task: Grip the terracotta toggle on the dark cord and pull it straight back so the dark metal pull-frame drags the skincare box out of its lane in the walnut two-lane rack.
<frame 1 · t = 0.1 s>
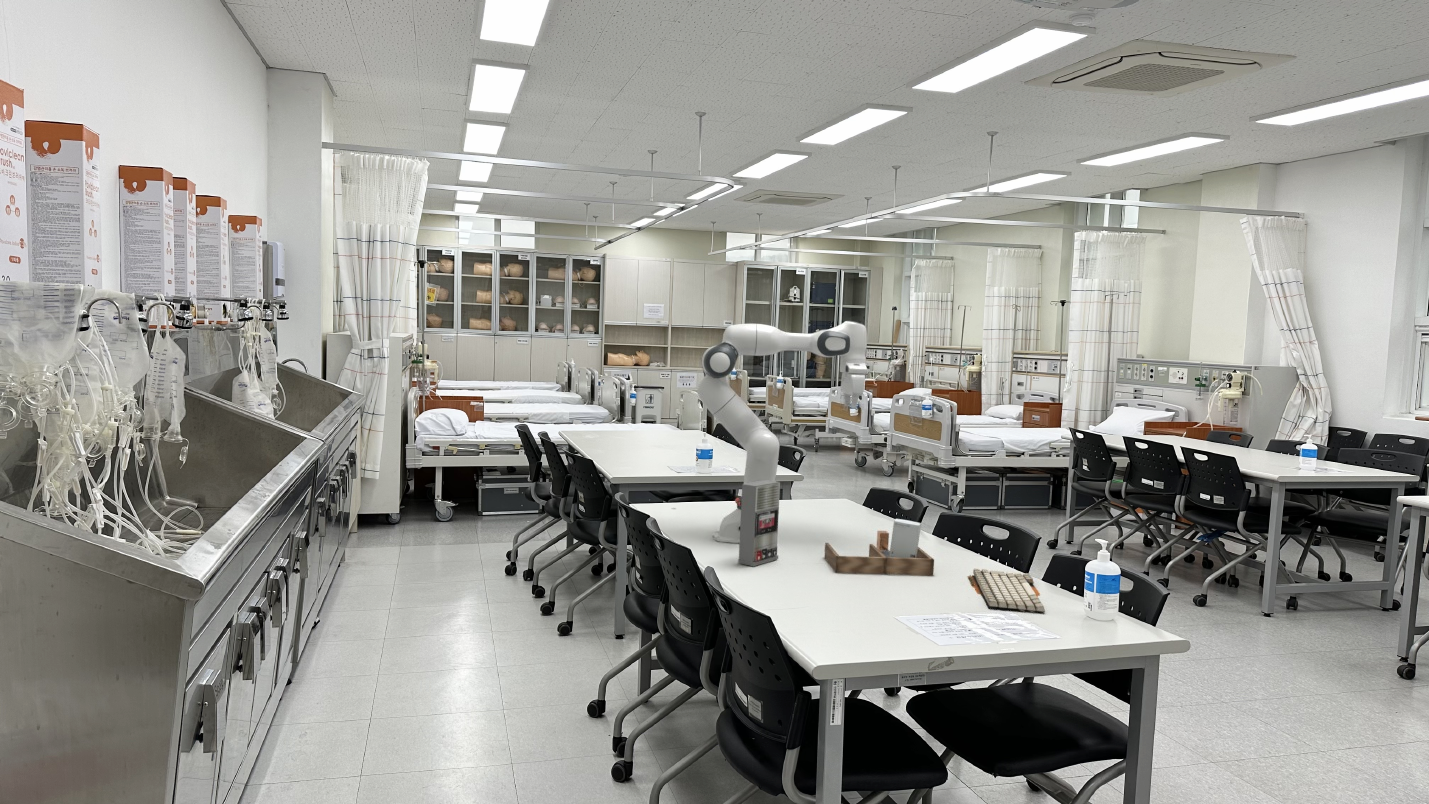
hand: (850, 407, 314), 48 cm above the table, fingers open, 8 cm apart
mechanical keyboard: (1008, 596, 257), on the table
cassette tape recorder: (758, 562, 282), on the table
skincare box: (902, 568, 281), resting in pull frame
pull frame: (893, 550, 291), point 3 cm above the table, slide at 0.1 cm, touching skincare box
lane rack: (876, 565, 284), on the table
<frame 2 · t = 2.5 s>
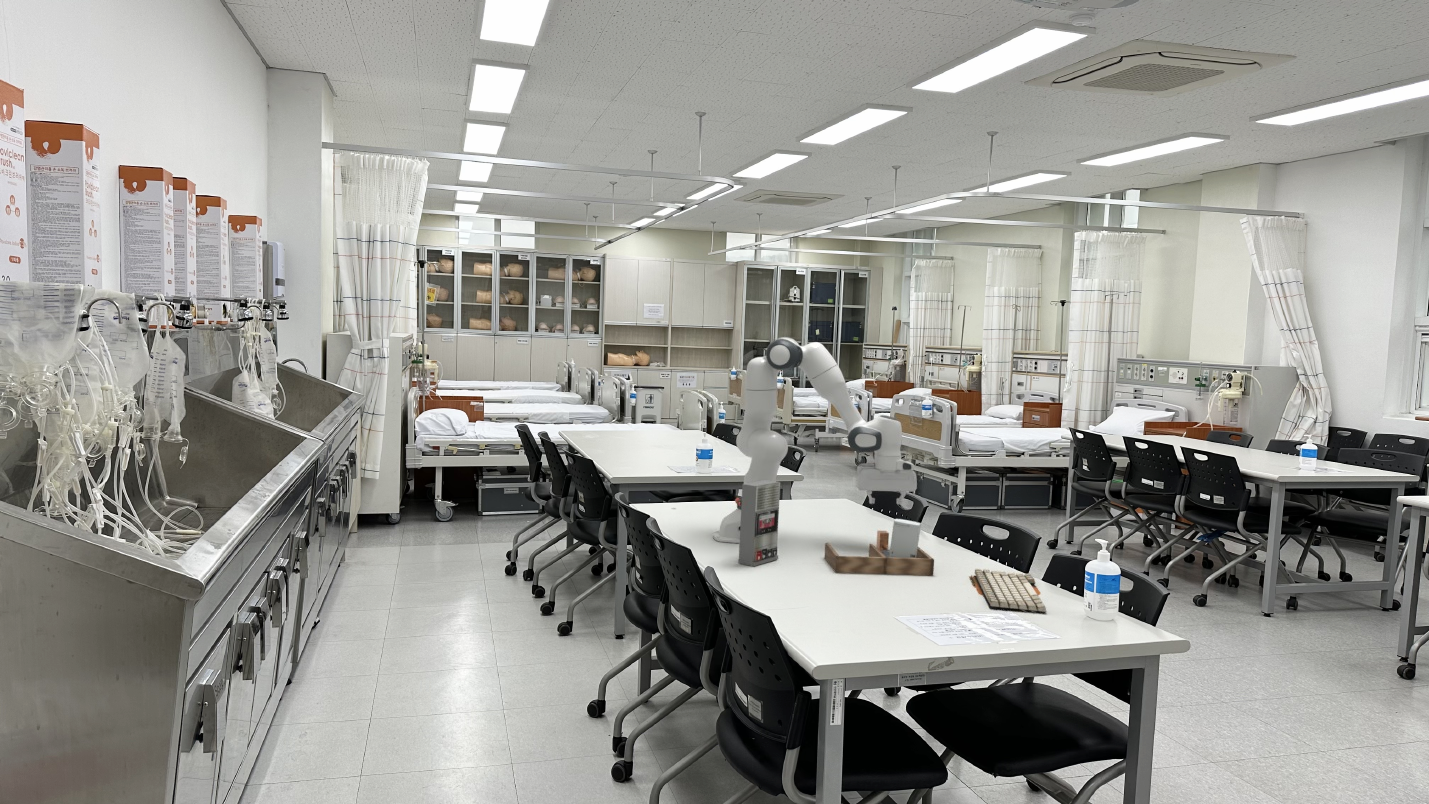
hand: (885, 503, 305), 16 cm above the table, fingers open, 8 cm apart
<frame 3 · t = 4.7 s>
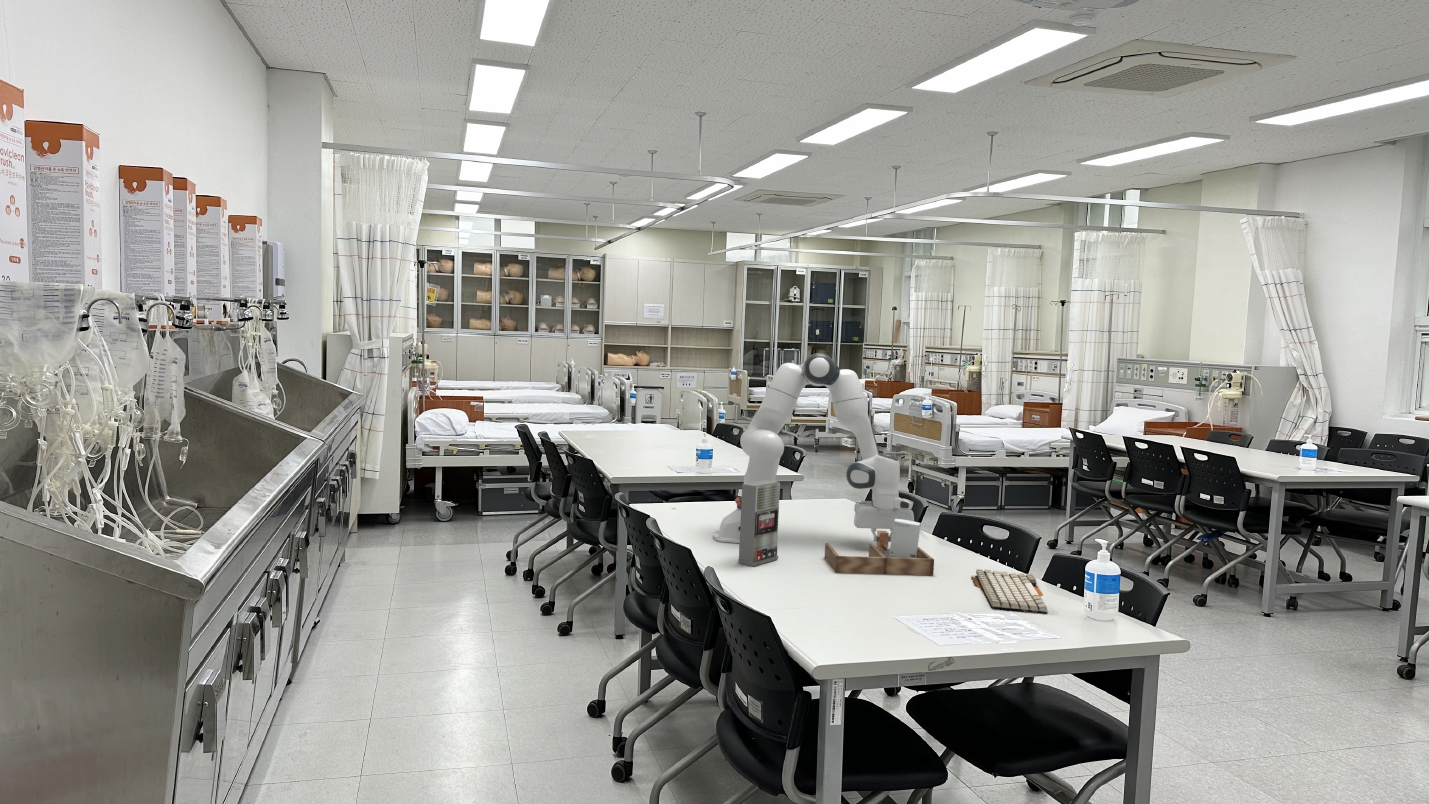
hand: (882, 541, 306), 3 cm above the table, fingers closed on pull frame, 3 cm apart
pull frame: (893, 550, 292), point 3 cm above the table, slide at 0.3 cm, touching gripper, skincare box
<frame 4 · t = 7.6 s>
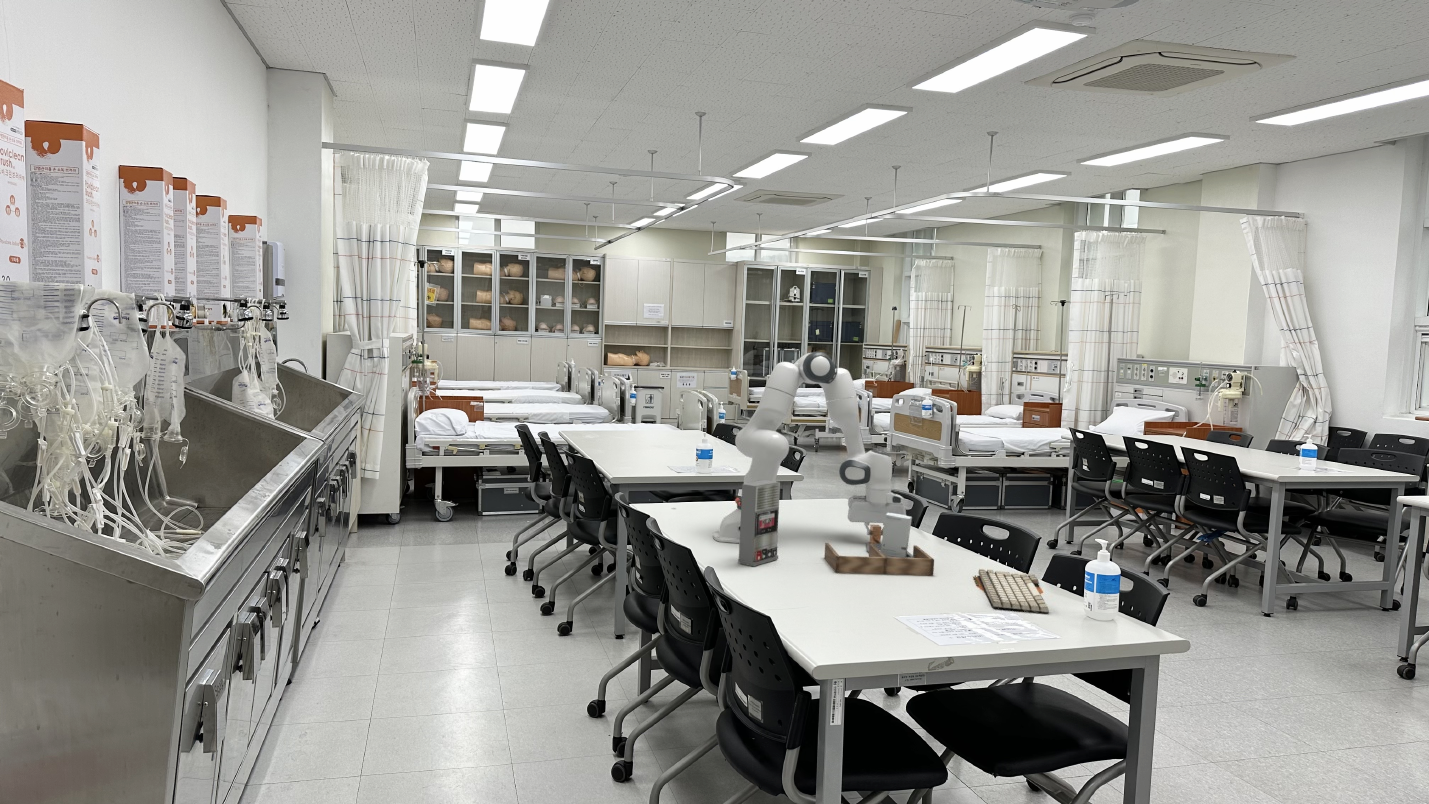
hand: (875, 535, 316), 3 cm above the table, fingers closed on pull frame, 3 cm apart
skincare box: (893, 560, 292), resting in pull frame
pull frame: (885, 543, 302), point 3 cm above the table, slide at 10.5 cm, touching gripper, skincare box
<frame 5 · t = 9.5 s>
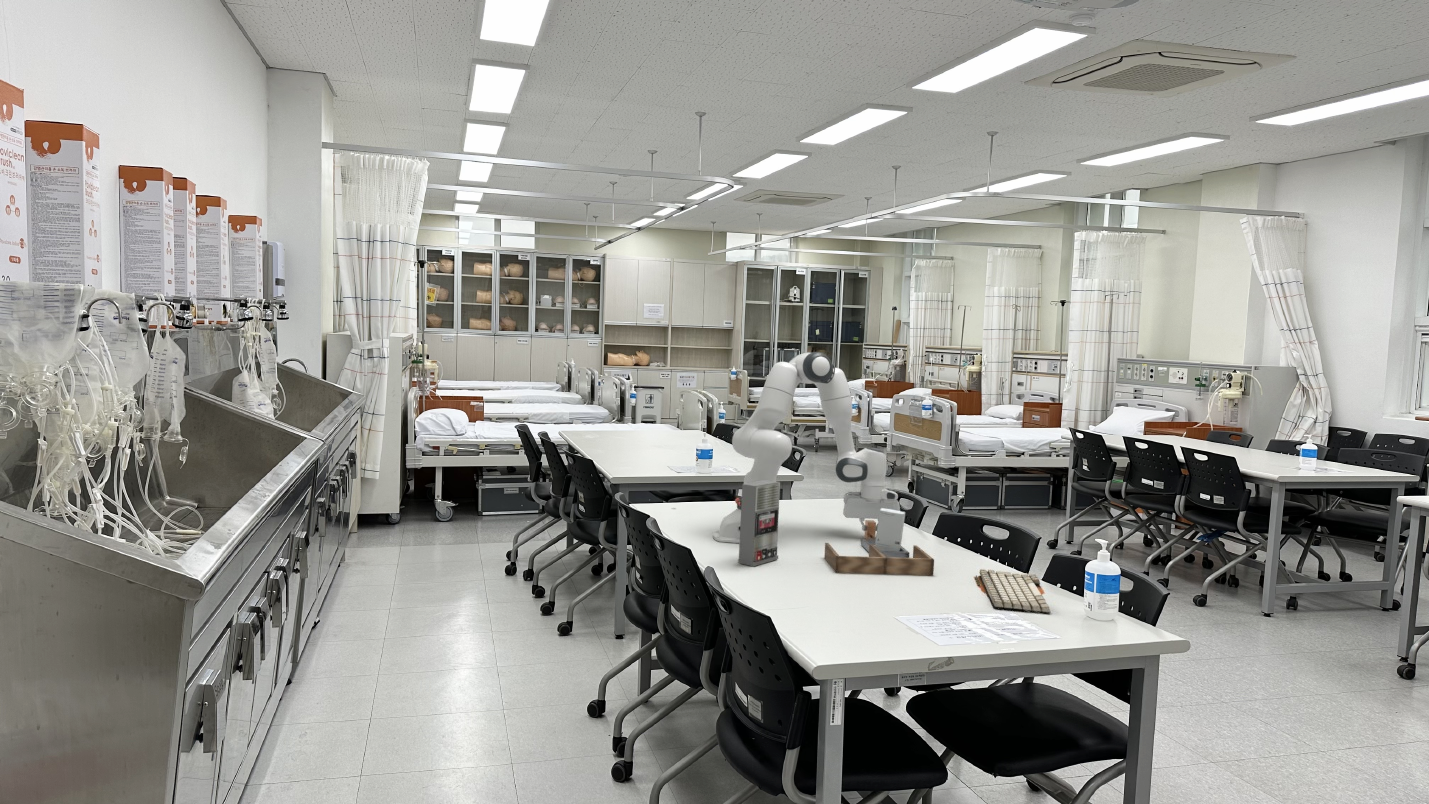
hand: (870, 530, 323), 3 cm above the table, fingers closed on pull frame, 3 cm apart
skincare box: (887, 554, 300), resting in pull frame
pull frame: (879, 538, 310), point 3 cm above the table, slide at 18.3 cm, touching gripper, skincare box
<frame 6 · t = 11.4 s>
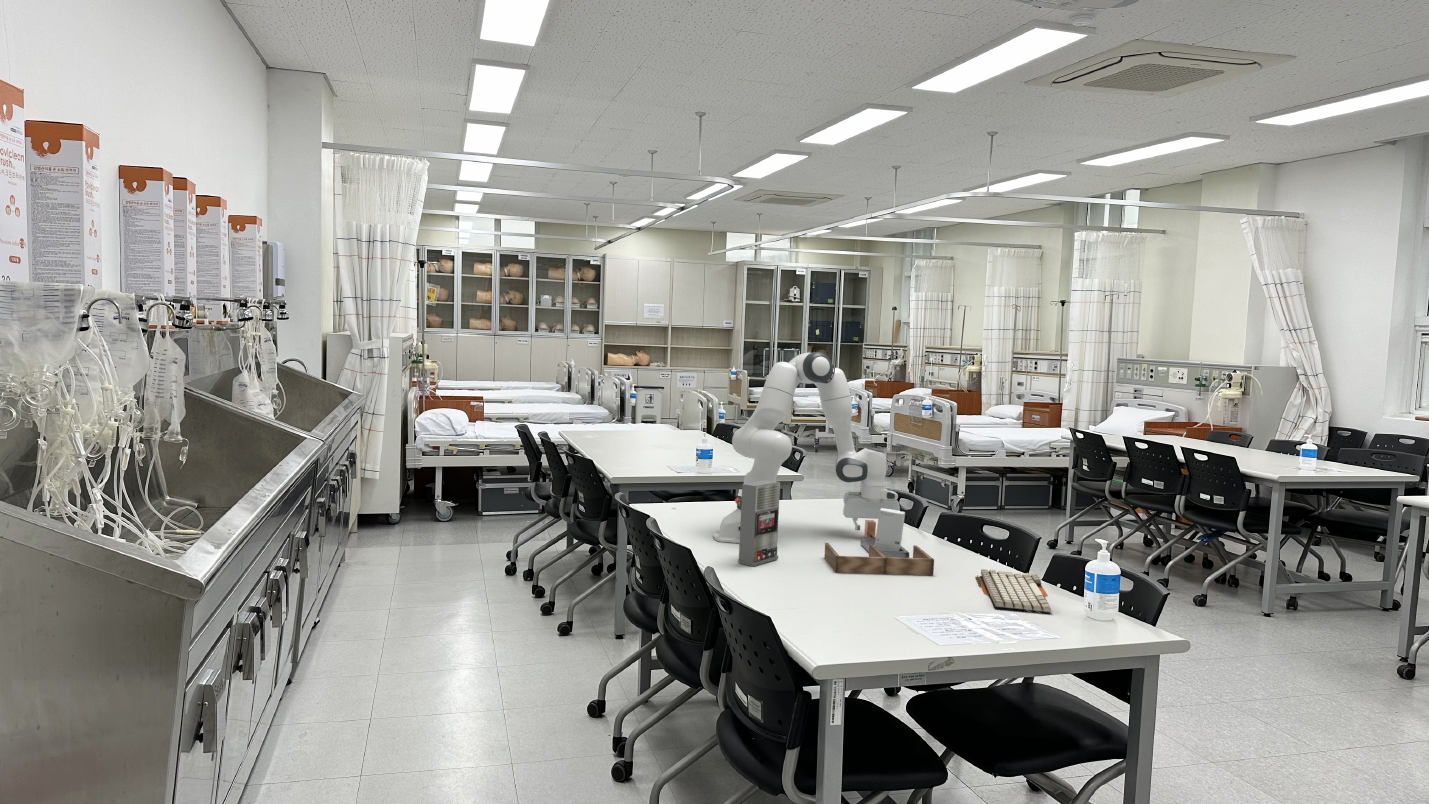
hand: (870, 530, 324), 3 cm above the table, fingers open, 8 cm apart
pull frame: (879, 538, 310), point 3 cm above the table, slide at 18.5 cm, touching skincare box
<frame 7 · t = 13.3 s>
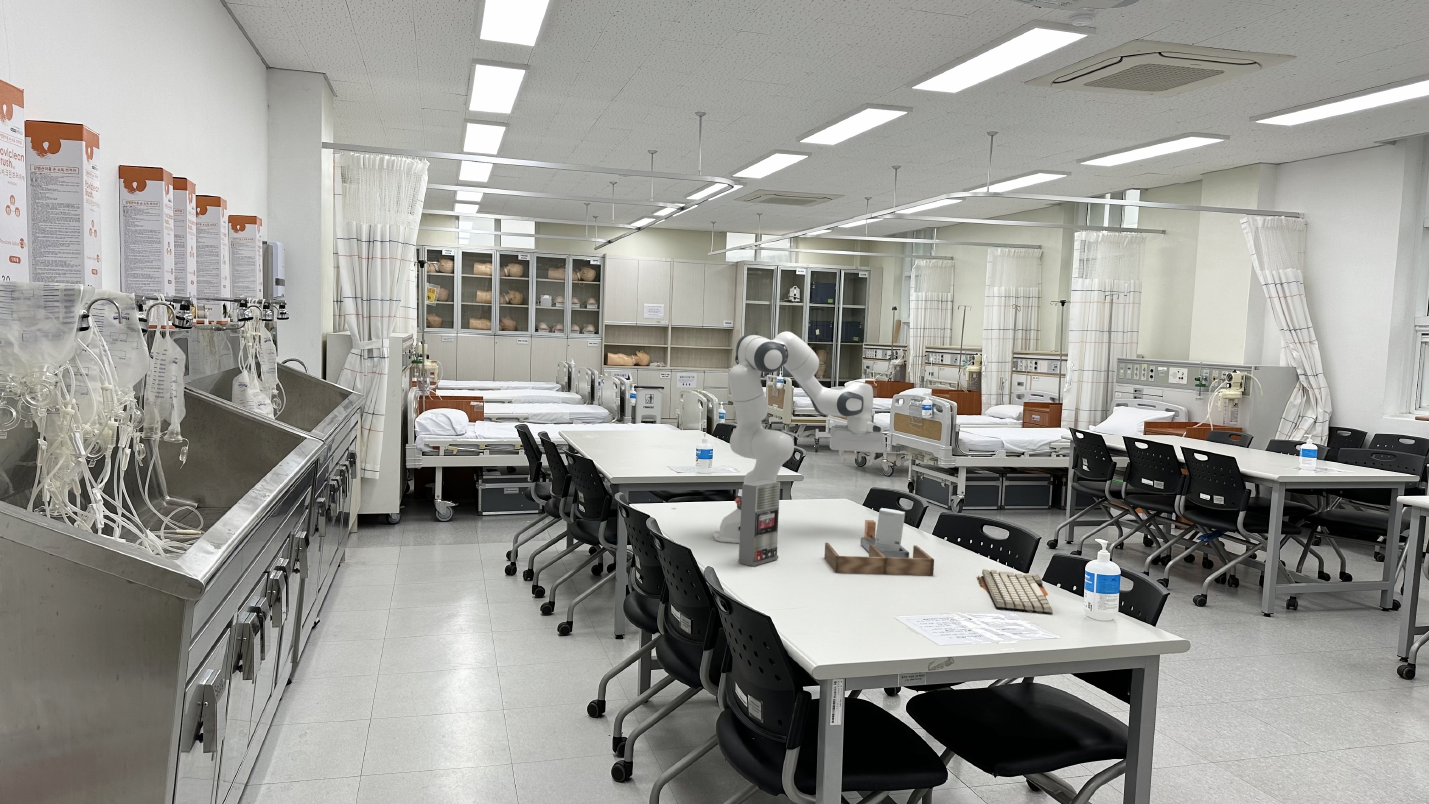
hand: (856, 463, 328), 26 cm above the table, fingers open, 8 cm apart
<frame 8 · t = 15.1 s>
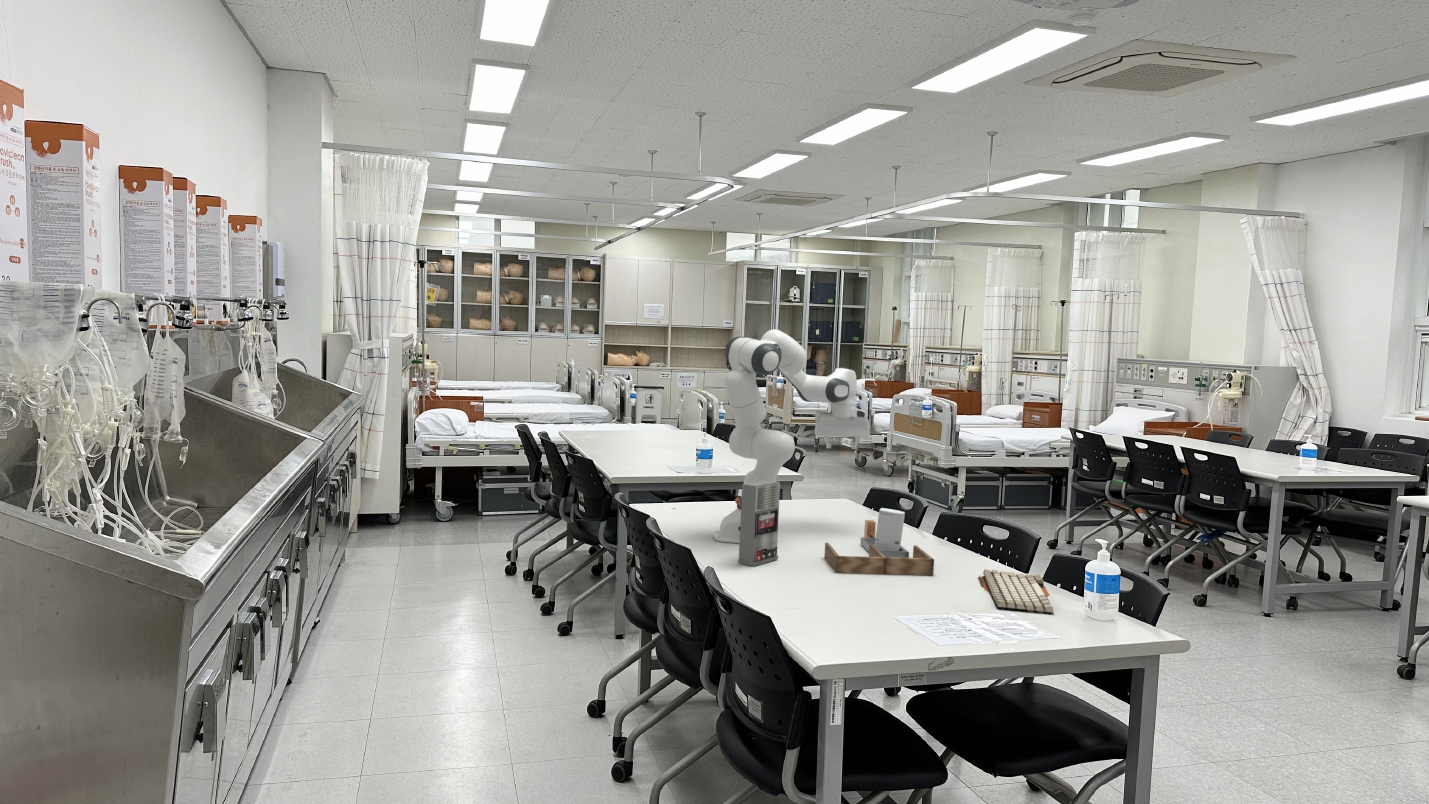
hand: (841, 448, 333), 31 cm above the table, fingers open, 8 cm apart
at the end: skincare box inside the target area (0.9 cm from its centre), resting in pull frame; skincare box tilted 2°; pull frame slide at 18.7 cm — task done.
